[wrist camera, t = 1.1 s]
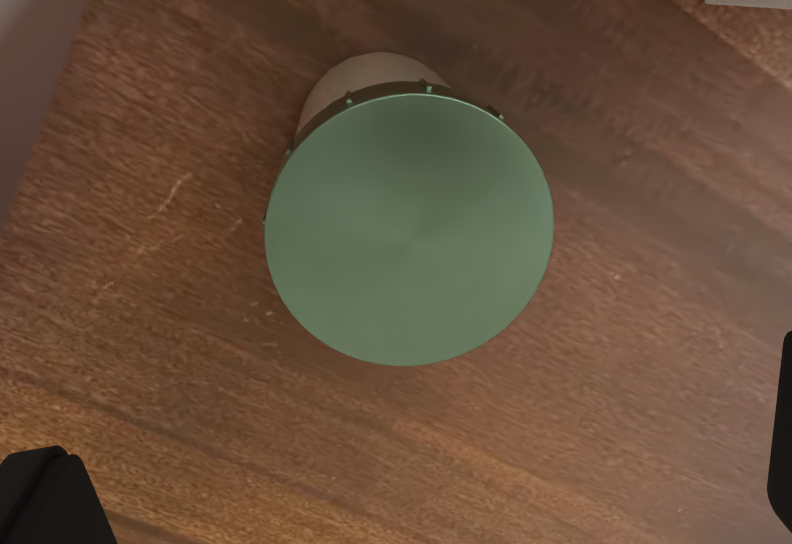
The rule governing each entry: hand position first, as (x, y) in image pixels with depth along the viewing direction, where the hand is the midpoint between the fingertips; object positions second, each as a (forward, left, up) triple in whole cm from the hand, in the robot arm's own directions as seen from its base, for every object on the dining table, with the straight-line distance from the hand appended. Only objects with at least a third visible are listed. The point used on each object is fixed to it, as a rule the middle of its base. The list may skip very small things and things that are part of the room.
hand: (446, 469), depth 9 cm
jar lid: (0, 0, -8) cm, 8 cm away
